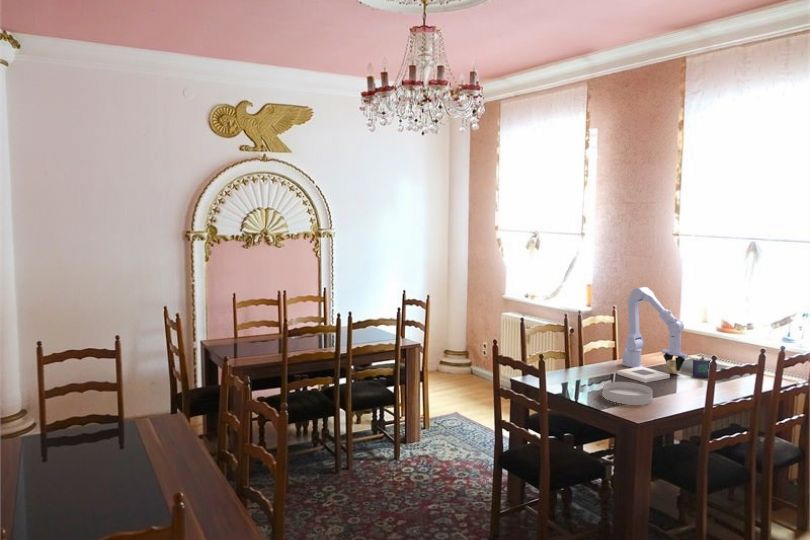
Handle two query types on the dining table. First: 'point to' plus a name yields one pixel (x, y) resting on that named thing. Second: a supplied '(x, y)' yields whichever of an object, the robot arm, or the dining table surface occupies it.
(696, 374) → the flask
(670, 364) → the block
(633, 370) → the plinth
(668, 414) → the dining table surface
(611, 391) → the dish
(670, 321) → the robot arm
